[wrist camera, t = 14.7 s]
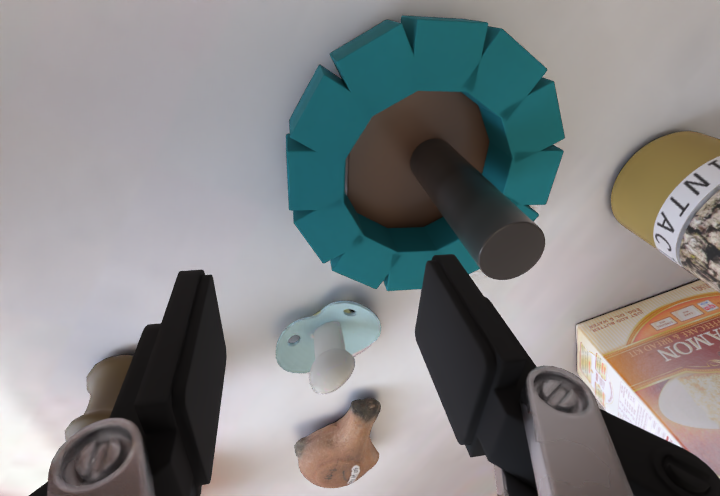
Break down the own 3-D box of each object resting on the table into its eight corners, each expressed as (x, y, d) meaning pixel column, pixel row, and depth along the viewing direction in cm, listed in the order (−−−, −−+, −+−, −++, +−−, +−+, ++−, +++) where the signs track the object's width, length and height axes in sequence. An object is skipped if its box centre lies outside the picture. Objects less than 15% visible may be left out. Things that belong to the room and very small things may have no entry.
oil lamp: (399, 422, 38) (365, 375, 33) (415, 461, 34) (380, 414, 30) (316, 469, 38) (272, 427, 33) (325, 513, 34) (276, 473, 30)
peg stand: (342, 223, 24) (375, 355, 15) (347, 61, 19) (398, 118, 11) (481, 218, 26) (583, 336, 17) (518, 66, 21) (688, 120, 12)
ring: (292, 269, 23) (293, 297, 21) (280, 8, 16) (279, 11, 14) (500, 258, 26) (519, 283, 23) (567, 24, 19) (605, 29, 16)
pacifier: (394, 328, 30) (357, 276, 26) (418, 401, 25) (377, 349, 21) (310, 369, 31) (264, 325, 27) (317, 448, 26) (262, 405, 22)
